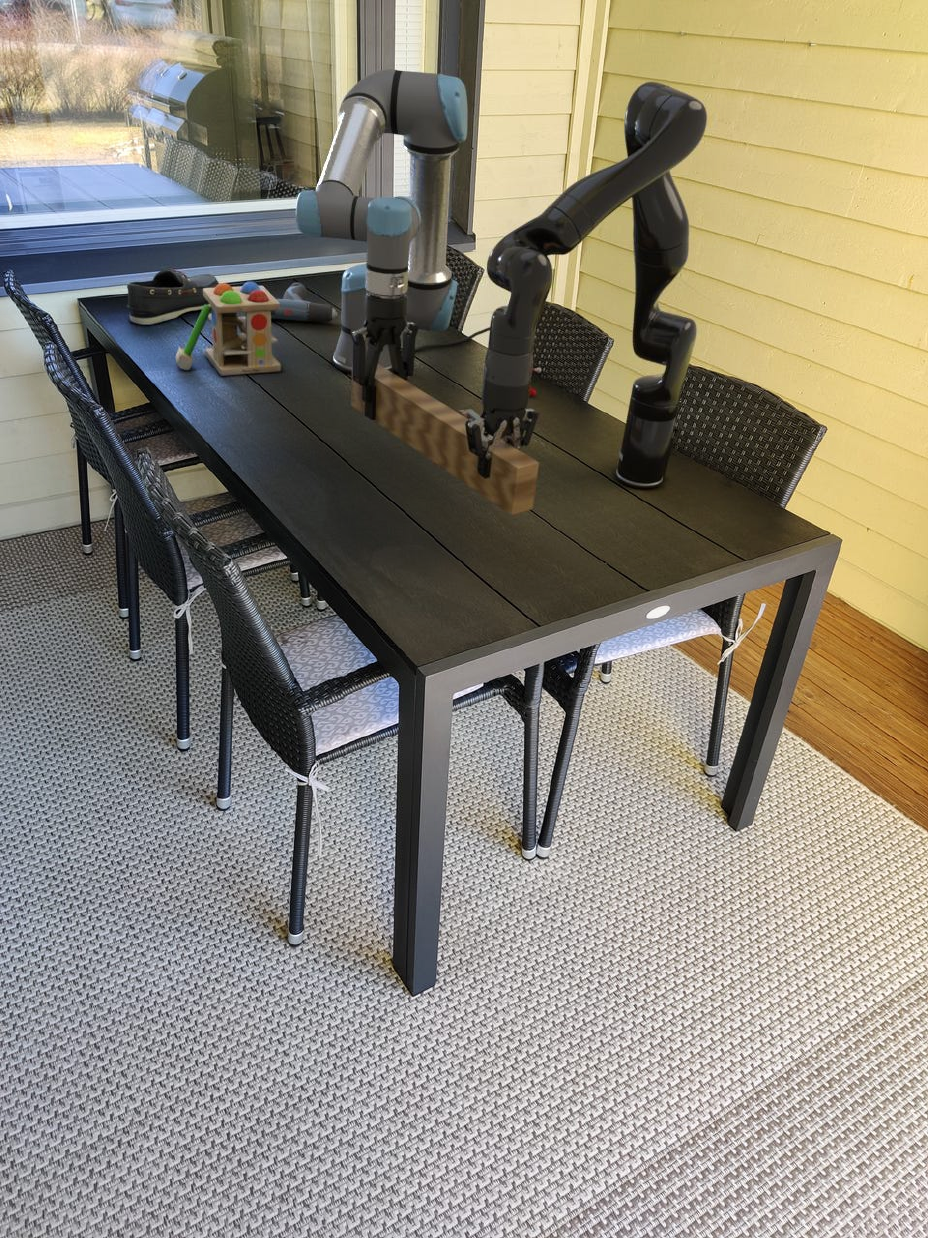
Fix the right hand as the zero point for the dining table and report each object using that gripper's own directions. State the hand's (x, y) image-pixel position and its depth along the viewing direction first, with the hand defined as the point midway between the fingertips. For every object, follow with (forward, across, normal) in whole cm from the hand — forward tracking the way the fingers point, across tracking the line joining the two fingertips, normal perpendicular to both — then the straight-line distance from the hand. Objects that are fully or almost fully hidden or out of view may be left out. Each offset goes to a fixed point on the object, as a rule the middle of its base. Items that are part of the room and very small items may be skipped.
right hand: (496, 472), depth 164 cm
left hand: (+3, 0, +35) cm, 35 cm away
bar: (+4, 0, +18) cm, 18 cm away
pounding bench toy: (+14, -4, +96) cm, 97 cm away
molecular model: (+14, +47, +51) cm, 70 cm away
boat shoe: (+14, +2, +138) cm, 139 cm away
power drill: (+14, +32, +123) cm, 128 cm away
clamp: (+14, +28, +38) cm, 49 cm away
